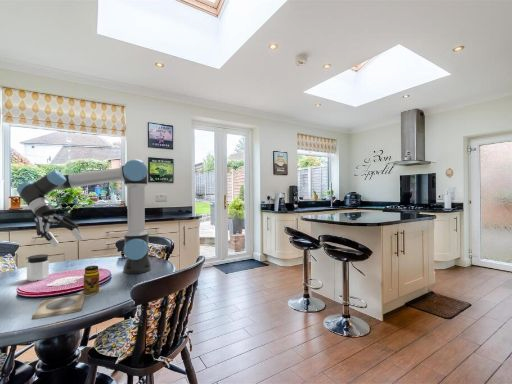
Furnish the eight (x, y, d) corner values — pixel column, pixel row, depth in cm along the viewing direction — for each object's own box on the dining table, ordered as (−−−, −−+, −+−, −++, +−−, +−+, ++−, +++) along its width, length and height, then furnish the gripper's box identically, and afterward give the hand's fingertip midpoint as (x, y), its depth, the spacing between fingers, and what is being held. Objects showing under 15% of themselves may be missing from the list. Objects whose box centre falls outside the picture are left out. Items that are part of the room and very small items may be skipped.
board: (85, 296, 116) (85, 293, 116) (81, 310, 102) (81, 307, 102) (42, 303, 108) (42, 300, 108) (32, 319, 95) (32, 315, 95)
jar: (25, 282, 132) (25, 259, 132) (28, 277, 139) (28, 255, 139) (47, 279, 137) (48, 256, 137) (49, 275, 143) (49, 253, 143)
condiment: (90, 296, 116) (90, 269, 116) (76, 293, 119) (76, 267, 119) (103, 290, 123) (104, 265, 123) (90, 288, 126) (90, 263, 126)
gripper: (61, 212, 137) (85, 242, 135) (10, 216, 113) (38, 253, 110) (70, 203, 137) (94, 232, 134) (20, 205, 112) (49, 241, 110)
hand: (69, 242), depth 122 cm, fingers open, 13 cm apart
